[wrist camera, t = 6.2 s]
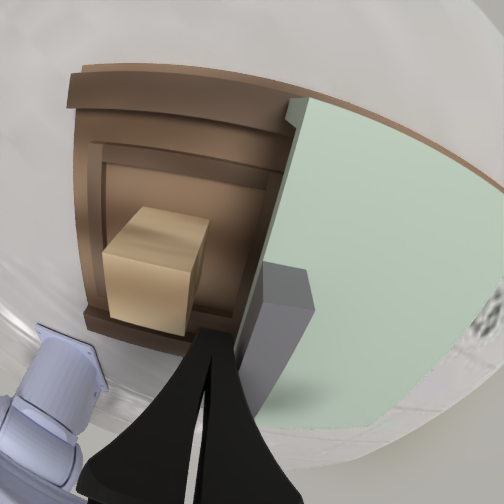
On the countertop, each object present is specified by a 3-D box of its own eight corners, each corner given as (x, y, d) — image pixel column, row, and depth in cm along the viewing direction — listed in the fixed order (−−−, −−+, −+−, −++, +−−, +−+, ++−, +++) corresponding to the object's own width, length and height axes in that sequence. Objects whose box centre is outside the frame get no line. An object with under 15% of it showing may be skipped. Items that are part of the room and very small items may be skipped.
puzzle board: (401, 368, 24) (405, 380, 22) (95, 320, 21) (88, 333, 20) (510, 194, 14) (523, 202, 12) (88, 65, 11) (72, 65, 9)
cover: (357, 379, 21) (372, 448, 15) (220, 365, 20) (210, 446, 14) (478, 181, 12) (557, 238, 6) (290, 98, 11) (326, 96, 5)
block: (200, 276, 17) (184, 336, 13) (141, 263, 17) (110, 317, 13) (210, 219, 15) (190, 272, 11) (142, 206, 15) (102, 252, 10)
